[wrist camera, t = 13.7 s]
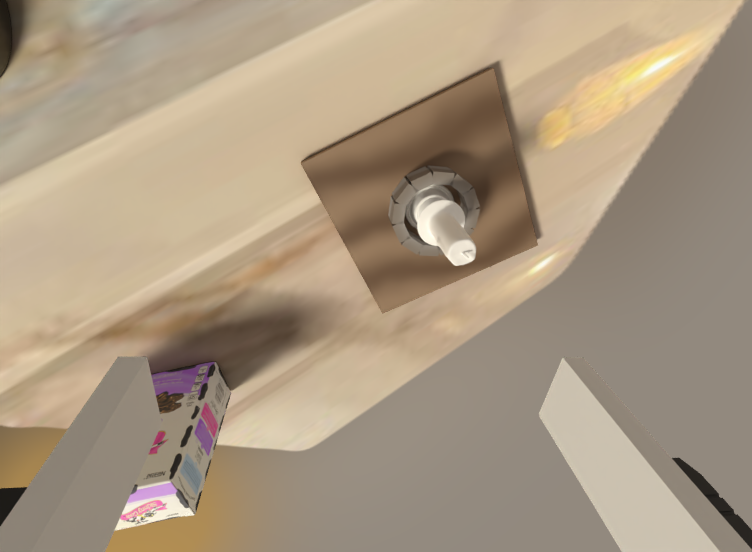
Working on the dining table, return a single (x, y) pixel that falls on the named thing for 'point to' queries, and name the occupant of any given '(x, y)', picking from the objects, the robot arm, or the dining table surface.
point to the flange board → (417, 171)
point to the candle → (441, 223)
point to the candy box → (179, 445)
